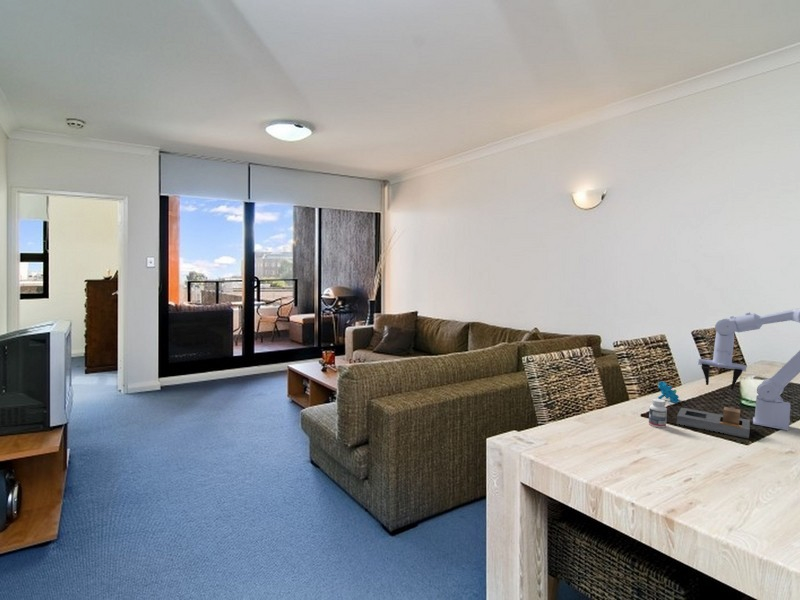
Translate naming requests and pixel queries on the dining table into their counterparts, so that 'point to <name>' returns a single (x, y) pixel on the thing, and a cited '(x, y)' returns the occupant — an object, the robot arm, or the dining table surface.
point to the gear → (668, 392)
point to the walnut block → (731, 415)
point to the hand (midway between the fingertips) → (719, 386)
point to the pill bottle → (658, 413)
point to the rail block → (712, 422)
